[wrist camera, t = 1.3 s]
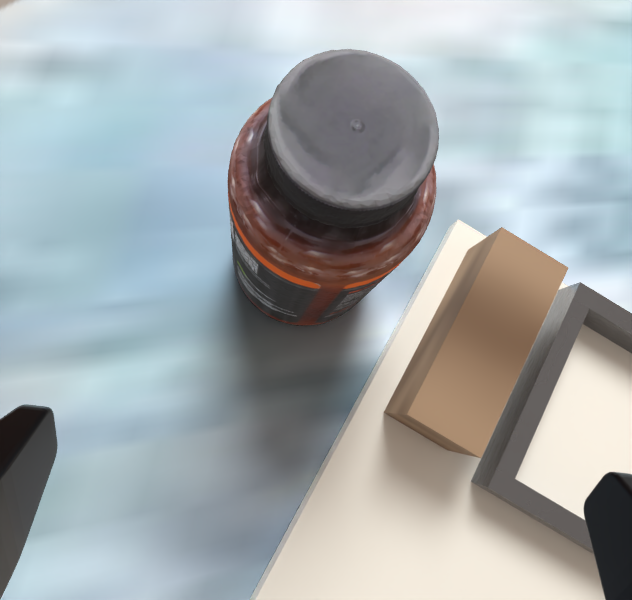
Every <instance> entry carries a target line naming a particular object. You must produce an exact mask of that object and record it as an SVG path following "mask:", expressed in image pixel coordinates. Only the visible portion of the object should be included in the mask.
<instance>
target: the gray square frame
mask: <svg viewBox="0 0 632 600" xmlns="http://www.w3.org/2000/svg"><path fill="white" fill-rule="evenodd" d="M582 324H584V325H585V326H587V327H589V328H590V329H592V330H594V331H595V332H597V333H599V334H600V335H602V336H604V337H605V338H607V339H608V340H610V341H612V342H613V343H615V344H617V345H618V346H620V347H622V348H623V349H625V350H627V351H628V352H630V353H632V313H630V312H628V311H627V310H625V309H623V308H622V307H620V306H618V305H617V304H615V303H613V302H612V301H610V300H609V299H607V298H605V297H604V296H602V295H600V294H599V293H597V292H595V291H594V290H592V289H590V288H589V287H587V286H585V285H584V284H582V283H581V282H580V283H577V284H574V285H571V286H568V287H565V288H562V289H560V290H558V292H557V294H556V296H555V299H554V301H553V303H552V305H551V307H550V310H549V312H548V314H547V316H546V318H545V320H544V323H543V325H542V327H541V329H540V331H539V334H538V336H537V338H536V340H535V342H534V344H533V347H532V349H531V351H530V353H529V355H528V358H527V360H526V362H525V364H524V366H523V368H522V371H521V373H520V375H519V377H518V379H517V382H516V384H515V386H514V388H513V390H512V392H511V395H510V397H509V399H508V401H507V403H506V406H505V408H504V410H503V412H502V414H501V416H500V419H499V421H498V423H497V425H496V427H495V430H494V432H493V434H492V436H491V438H490V440H489V443H488V445H487V447H486V449H485V451H484V454H483V456H482V458H481V460H480V462H479V464H478V467H477V469H476V471H475V473H474V475H473V478H472V480H471V482H472V483H474V484H476V485H477V486H479V487H481V488H482V489H484V490H486V491H487V492H489V493H491V494H493V495H494V496H496V497H498V498H499V499H501V500H503V501H504V502H506V503H508V504H509V505H511V506H513V507H515V508H516V509H518V510H520V511H521V512H523V513H525V514H526V515H528V516H530V517H531V518H533V519H535V520H537V521H538V522H540V523H542V524H543V525H545V526H547V527H548V528H550V529H552V530H553V531H555V532H557V533H559V534H560V535H562V536H564V537H565V538H567V539H569V540H570V541H572V542H574V543H575V544H577V545H579V546H581V547H582V548H584V549H586V550H587V551H589V552H591V553H592V554H594V553H593V549H592V545H591V541H590V537H589V533H588V529H587V525H586V521H585V520H584V519H582V518H580V517H579V516H577V515H575V514H574V513H572V512H570V511H569V510H567V509H565V508H564V507H562V506H560V505H559V504H557V503H555V502H554V501H552V500H550V499H548V498H547V497H545V496H543V495H542V494H540V493H538V492H537V491H535V490H533V489H532V488H530V487H528V486H527V485H525V484H523V483H521V482H520V481H518V480H516V479H515V478H516V475H517V473H518V471H519V468H520V466H521V464H522V462H523V459H524V457H525V455H526V452H527V450H528V448H529V446H530V443H531V441H532V439H533V436H534V434H535V432H536V430H537V427H538V425H539V423H540V420H541V418H542V416H543V414H544V411H545V409H546V407H547V404H548V402H549V400H550V398H551V395H552V393H553V391H554V388H555V386H556V384H557V381H558V379H559V377H560V375H561V372H562V370H563V368H564V365H565V363H566V361H567V359H568V356H569V354H570V352H571V349H572V347H573V345H574V343H575V340H576V338H577V336H578V333H579V331H580V329H581V327H582Z"/></svg>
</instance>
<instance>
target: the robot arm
mask: <svg viewBox="0 0 632 600" xmlns="http://www.w3.org/2000/svg"><path fill="white" fill-rule="evenodd" d="M56 453H57V437H56V429H55V421H54V414H53V411H52V409H51V408H49V407H44V406H36V405H21V406H19V407H17V408H16V409H14V410H13V411H11V412H10V413H8V414H7V415H6V416H4V417H3V418H1V419H0V599H1V597H2V595H3V593H4V591H5V589H6V587H7V585H8V582H9V580H10V578H11V576H12V574H13V572H14V570H15V567H16V565H17V563H18V561H19V558H20V556H21V553H22V550H23V548H24V545H25V542H26V540H27V537H28V534H29V531H30V528H31V526H32V523H33V520H34V517H35V514H36V511H37V509H38V506H39V503H40V500H41V497H42V495H43V492H44V489H45V486H46V483H47V480H48V478H49V475H50V472H51V469H52V466H53V463H54V461H55V457H56ZM584 517H585V521H586V525H587V529H588V533H589V537H590V541H591V545H592V549H593V553H594V557H595V561H596V565H597V569H598V573H599V577H600V581H601V585H602V589H603V592H604V596H605V600H632V474H628V473H620V472H609V473H606V474H605V475H604V476H603V477H602V479H601V480H600V481H599V482H598V484H597V485H596V486H595V488H594V489H593V490H592V492H591V493H590V494H589V496H588V497H587V498H586V500H585V503H584Z"/></svg>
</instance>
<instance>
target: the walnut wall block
mask: <svg viewBox="0 0 632 600" xmlns="http://www.w3.org/2000/svg"><path fill="white" fill-rule="evenodd" d="M567 270H568V267H566V266H565V265H563V264H561V263H560V262H558V261H556V260H555V259H553V258H552V257H550V256H548V255H547V254H545V253H543V252H542V251H540V250H538V249H537V248H535V247H533V246H532V245H530V244H528V243H527V242H525V241H524V240H522V239H520V238H519V237H517V236H515V235H514V234H512V233H510V232H509V231H507V230H505V229H504V228H502V227H501V228H500V229H498V230H497V231H495V232H494V233H492V234H491V235H489V236H488V237H486V238H485V239H483V240H482V241H480V242H479V243H477V244H476V245H474V246H473V247H471V248H470V249H468V251H467V253H466V255H465V256H464V258H463V260H462V262H461V264H460V266H459V268H458V270H457V272H456V274H455V276H454V278H453V280H452V282H451V283H450V285H449V287H448V289H447V291H446V293H445V295H444V297H443V299H442V301H441V303H440V305H439V307H438V308H437V310H436V312H435V314H434V316H433V318H432V320H431V322H430V324H429V326H428V328H427V330H426V332H425V334H424V335H423V337H422V339H421V341H420V343H419V345H418V347H417V349H416V351H415V353H414V355H413V357H412V359H411V360H410V362H409V364H408V366H407V368H406V370H405V372H404V374H403V376H402V378H401V380H400V382H399V384H398V386H397V387H396V389H395V391H394V393H393V395H392V397H391V399H390V401H389V403H388V405H387V407H386V409H385V411H384V412H383V413H385V414H387V415H389V416H390V417H392V418H394V419H395V420H397V421H399V422H400V423H402V424H404V425H405V426H407V427H409V428H410V429H412V430H414V431H416V432H417V433H419V434H421V435H422V436H424V437H426V438H427V439H429V440H431V441H432V442H434V443H436V444H437V445H439V446H441V447H443V448H444V449H446V450H448V451H452V452H457V453H461V454H465V455H469V456H473V457H478V458H481V457H482V455H483V453H484V451H485V449H486V447H487V444H488V442H489V440H490V438H491V436H492V433H493V431H494V429H495V427H496V425H497V423H498V420H499V418H500V416H501V414H502V412H503V409H504V407H505V405H506V403H507V401H508V399H509V396H510V394H511V392H512V390H513V388H514V385H515V383H516V381H517V379H518V377H519V375H520V372H521V370H522V368H523V366H524V364H525V361H526V359H527V357H528V355H529V353H530V351H531V348H532V346H533V344H534V342H535V340H536V337H537V335H538V333H539V331H540V329H541V327H542V324H543V322H544V320H545V318H546V316H547V313H548V311H549V309H550V307H551V305H552V303H553V300H554V298H555V296H556V294H557V292H558V289H559V287H560V285H561V283H562V281H563V279H564V276H565V274H566V272H567Z"/></svg>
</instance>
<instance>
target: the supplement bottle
mask: <svg viewBox="0 0 632 600" xmlns="http://www.w3.org/2000/svg"><path fill="white" fill-rule="evenodd" d="M438 141H439V128H438V124H437V117H436V113H435V110H434V108H433V105H432V103H431V102H430V100H429V98H428V96H427V94H426V92H425V90H424V89H423V88H422V87H421V86H420V85H419V83H418V82H417V81H416V80H415V79H414V78H413V77H412V76H411V75H410V74H409V73H408V72H407V71H405V70H404V69H403V68H402V67H401V66H399V65H398V64H396V63H394V62H392V61H391V60H388V59H386V58H384V57H382V56H379V55H377V54H373V53H370V52H367V51H361V50H352V49H345V50H330V51H326V52H323V53H320V54H316V55H314V56H312V57H310V58H308V59H305V60H303V61H302V62H300V63H299V64H298V65H296V66H295V67H294V68H293V69H292V70H291V71H290V72H289V73H288V74H287V75H286V76H285V77H284V78H283V80H282V81H281V83H280V84H279V85H278V86H277V88H276V90H275V93H274V95H273V97H272V98H271V99H269V100H268V101H266V102H265V103H264V104H263V105H261V106H260V107H259V108H258V109H257V110H256V111H255V112H254V113H253V114H252V115H251V117H250V118H249V119H248V120H247V122H246V123H245V125H244V126H243V127H242V129H241V131H240V133H239V136H238V137H237V139H236V141H235V143H234V147H233V150H232V153H231V159H230V164H229V170H228V199H229V211H230V225H231V238H232V252H233V262H234V267H235V273H236V276H237V278H238V281H239V283H240V285H241V287H242V289H243V291H244V293H245V294H246V296H247V297H248V298H249V300H250V301H251V302H252V303H253V304H254V305H255V306H256V307H257V308H259V309H260V310H261V311H262V312H263V313H265V314H267V315H268V316H270V317H271V318H273V319H276V320H278V321H281V322H284V323H288V324H293V325H318V324H322V323H326V322H328V321H330V320H333V319H335V318H337V317H339V316H341V315H342V314H344V313H345V312H347V311H348V310H350V309H351V308H352V307H353V306H354V305H355V304H357V303H358V302H359V301H360V300H361V299H362V298H363V297H364V296H366V295H367V294H368V293H369V292H370V291H371V290H372V289H373V288H374V287H375V286H376V285H377V284H378V283H380V282H381V281H382V280H383V279H384V278H385V277H386V276H387V275H388V274H390V273H391V272H392V271H393V270H394V269H395V268H396V267H397V266H398V265H399V264H400V263H401V262H402V261H403V260H404V259H405V258H406V257H407V256H408V255H409V254H410V253H411V252H412V251H413V249H414V248H415V247H416V246H417V244H418V243H419V242H420V240H421V238H422V236H423V235H424V233H425V231H426V229H427V226H428V224H429V222H430V219H431V216H432V213H433V209H434V203H435V197H436V172H435V168H434V161H435V158H436V154H437V150H438Z"/></svg>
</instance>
